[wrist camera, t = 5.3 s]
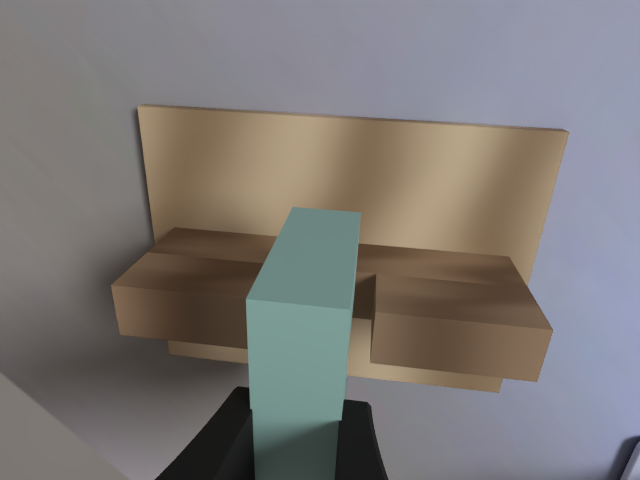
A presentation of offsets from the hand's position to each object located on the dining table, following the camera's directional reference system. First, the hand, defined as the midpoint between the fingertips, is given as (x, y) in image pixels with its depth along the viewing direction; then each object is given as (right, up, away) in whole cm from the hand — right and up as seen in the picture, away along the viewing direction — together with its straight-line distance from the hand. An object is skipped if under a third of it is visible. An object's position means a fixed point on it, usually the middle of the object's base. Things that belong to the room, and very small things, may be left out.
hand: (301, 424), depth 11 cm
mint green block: (+1, +1, +4) cm, 4 cm away
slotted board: (+1, +4, +8) cm, 9 cm away
